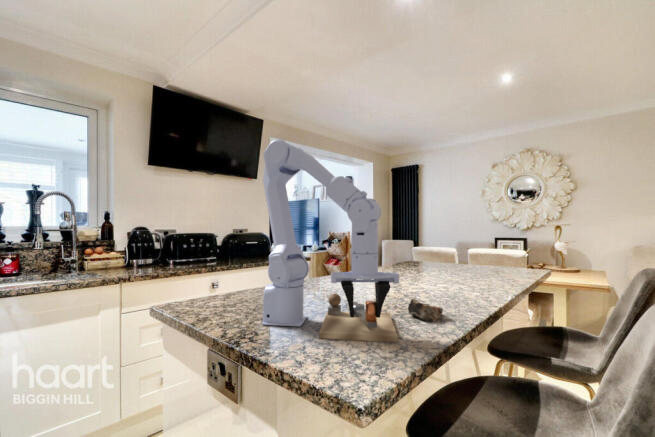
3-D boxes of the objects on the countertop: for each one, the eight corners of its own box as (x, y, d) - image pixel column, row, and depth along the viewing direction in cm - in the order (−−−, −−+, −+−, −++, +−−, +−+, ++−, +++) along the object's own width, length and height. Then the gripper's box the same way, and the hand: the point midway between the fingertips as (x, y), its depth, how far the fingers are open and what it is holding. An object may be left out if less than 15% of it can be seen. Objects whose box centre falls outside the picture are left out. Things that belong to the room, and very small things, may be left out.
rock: (430, 325, 70) (454, 311, 75) (422, 301, 71) (446, 289, 76) (404, 324, 77) (428, 311, 83) (397, 302, 78) (421, 291, 83)
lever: (347, 306, 78) (347, 287, 78) (359, 306, 79) (359, 287, 79) (365, 328, 61) (365, 303, 62) (379, 327, 62) (380, 303, 62)
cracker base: (319, 338, 61) (319, 308, 61) (327, 315, 77) (327, 291, 77) (397, 342, 59) (397, 311, 59) (389, 317, 75) (389, 293, 75)
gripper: (331, 254, 59) (331, 321, 59) (402, 254, 59) (402, 322, 59) (331, 251, 66) (330, 311, 66) (394, 252, 66) (394, 312, 66)
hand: (364, 316), depth 63 cm, fingers open, 5 cm apart
